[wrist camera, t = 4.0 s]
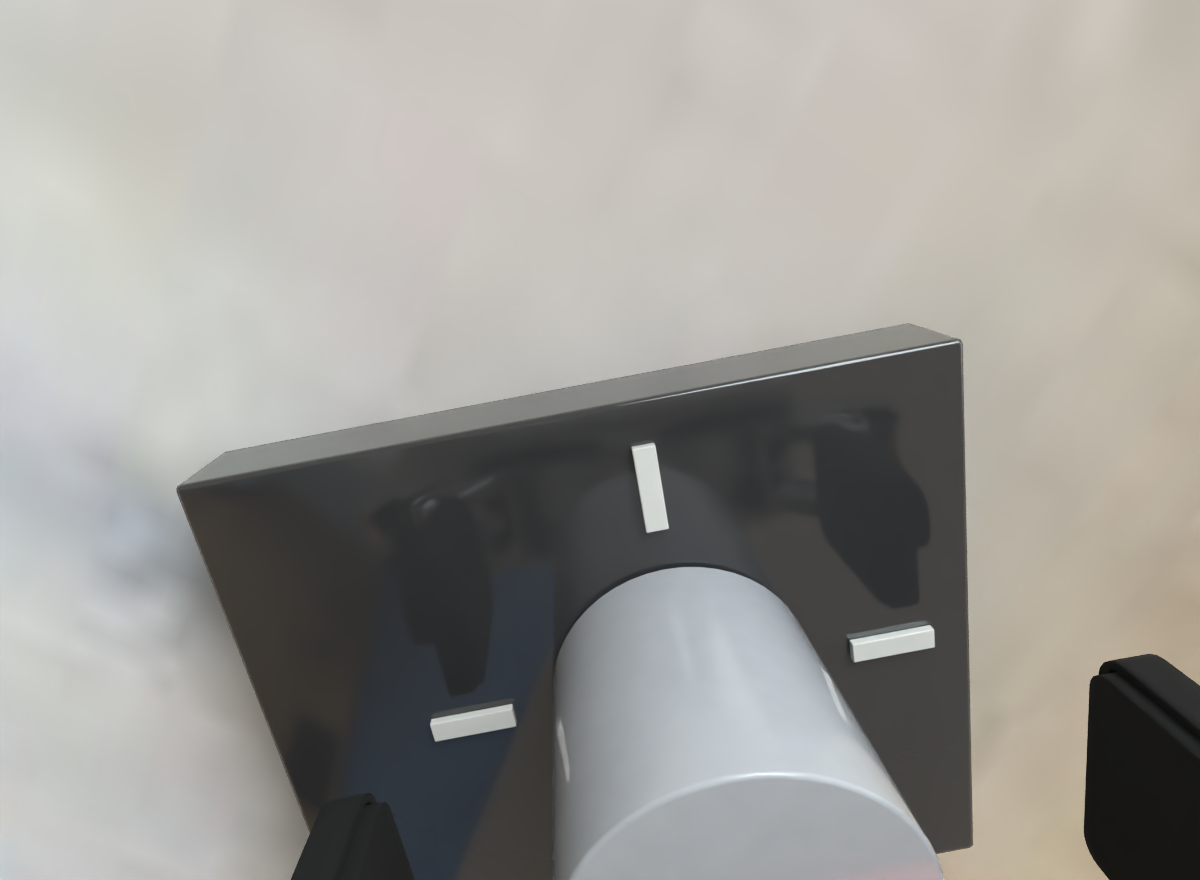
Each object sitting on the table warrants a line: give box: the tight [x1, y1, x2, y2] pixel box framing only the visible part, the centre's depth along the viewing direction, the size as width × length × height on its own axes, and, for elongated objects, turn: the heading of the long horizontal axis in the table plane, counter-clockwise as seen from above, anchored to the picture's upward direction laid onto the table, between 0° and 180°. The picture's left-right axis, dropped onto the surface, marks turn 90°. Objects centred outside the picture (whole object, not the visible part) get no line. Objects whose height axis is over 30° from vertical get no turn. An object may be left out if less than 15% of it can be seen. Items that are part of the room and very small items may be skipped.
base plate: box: [177, 323, 973, 880], centre depth 14 cm, size 12×10×3 cm
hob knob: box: [552, 567, 944, 880], centre depth 10 cm, size 4×4×5 cm
